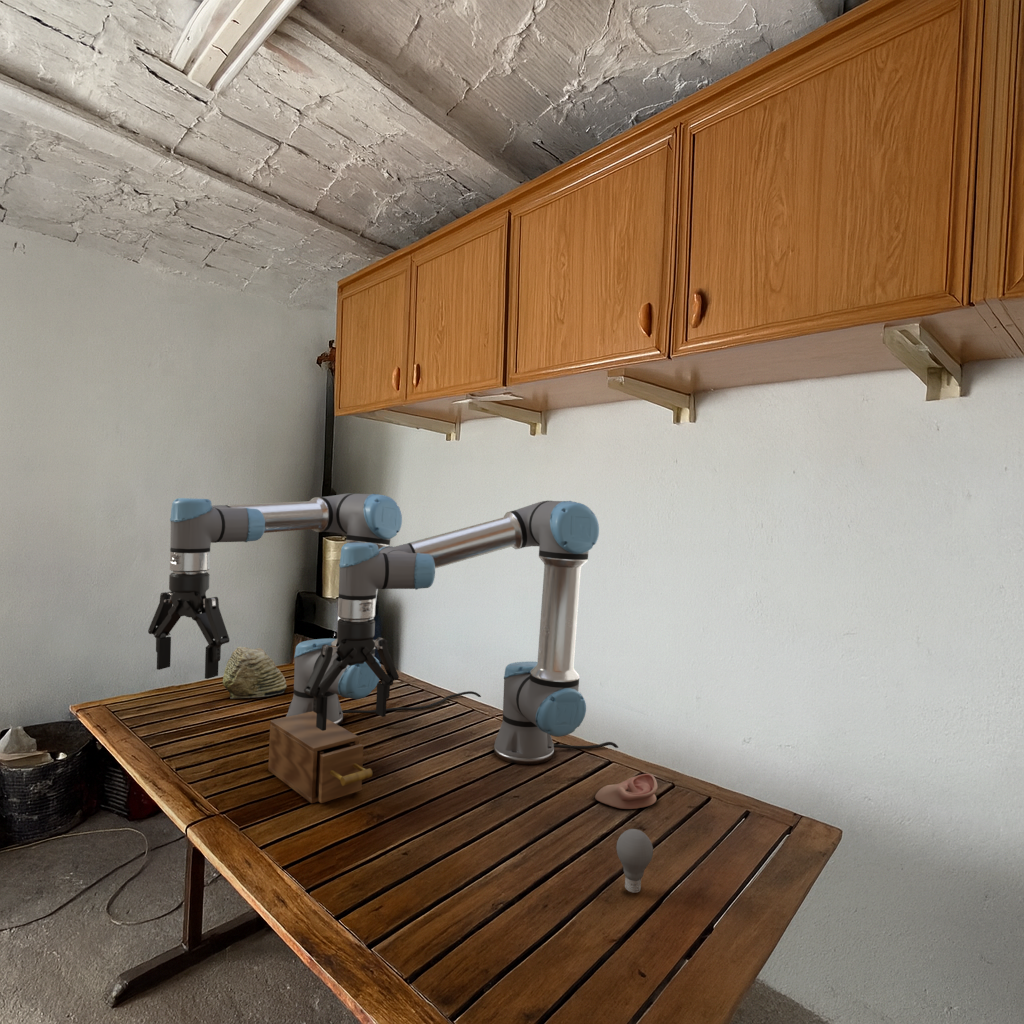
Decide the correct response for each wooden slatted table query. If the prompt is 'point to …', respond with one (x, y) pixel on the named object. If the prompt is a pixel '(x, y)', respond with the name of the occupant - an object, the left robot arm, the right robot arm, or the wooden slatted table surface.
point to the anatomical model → (630, 793)
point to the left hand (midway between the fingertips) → (187, 672)
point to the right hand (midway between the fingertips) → (351, 721)
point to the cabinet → (302, 750)
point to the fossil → (252, 674)
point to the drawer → (340, 771)
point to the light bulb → (634, 857)
